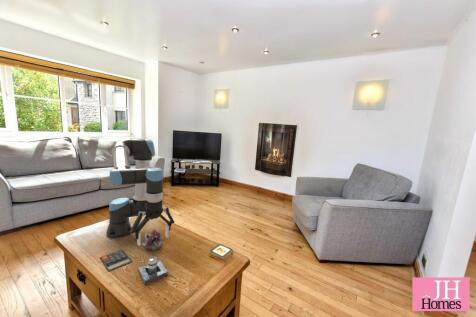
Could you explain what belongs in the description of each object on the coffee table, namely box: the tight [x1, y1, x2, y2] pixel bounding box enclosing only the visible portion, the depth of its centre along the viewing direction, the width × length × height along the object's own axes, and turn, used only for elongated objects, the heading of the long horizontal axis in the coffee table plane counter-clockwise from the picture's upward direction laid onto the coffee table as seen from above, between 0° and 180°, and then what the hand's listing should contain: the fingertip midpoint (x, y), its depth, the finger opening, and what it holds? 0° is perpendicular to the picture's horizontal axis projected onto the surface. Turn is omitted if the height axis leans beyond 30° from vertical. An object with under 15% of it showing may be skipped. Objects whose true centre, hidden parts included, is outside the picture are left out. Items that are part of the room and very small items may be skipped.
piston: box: [147, 256, 159, 276], centre depth 104 cm, size 5×5×8 cm
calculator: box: [99, 248, 133, 272], centre depth 113 cm, size 12×1×15 cm
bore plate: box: [137, 260, 168, 285], centre depth 105 cm, size 11×11×2 cm
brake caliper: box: [141, 229, 164, 251], centre depth 127 cm, size 11×11×12 cm
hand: (153, 240), depth 103 cm, fingers open, 13 cm apart
